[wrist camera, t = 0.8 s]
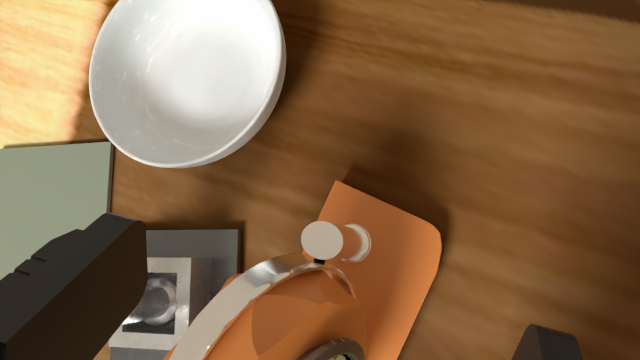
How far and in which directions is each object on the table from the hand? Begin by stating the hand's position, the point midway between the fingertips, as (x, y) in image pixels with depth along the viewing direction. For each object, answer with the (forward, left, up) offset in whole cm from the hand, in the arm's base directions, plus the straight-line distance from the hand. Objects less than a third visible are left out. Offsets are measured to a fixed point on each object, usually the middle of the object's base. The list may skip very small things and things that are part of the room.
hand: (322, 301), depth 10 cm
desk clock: (-8, +10, -37) cm, 39 cm away
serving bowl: (+19, +23, -37) cm, 48 cm away
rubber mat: (+5, +43, -37) cm, 56 cm away
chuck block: (-4, +26, -37) cm, 45 cm away
